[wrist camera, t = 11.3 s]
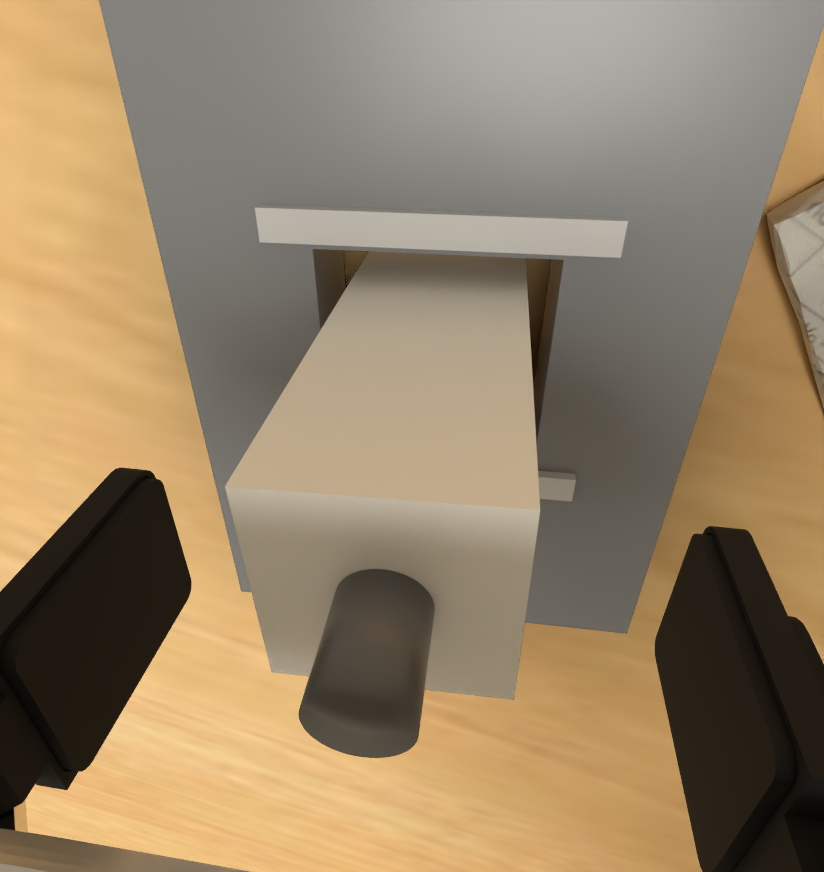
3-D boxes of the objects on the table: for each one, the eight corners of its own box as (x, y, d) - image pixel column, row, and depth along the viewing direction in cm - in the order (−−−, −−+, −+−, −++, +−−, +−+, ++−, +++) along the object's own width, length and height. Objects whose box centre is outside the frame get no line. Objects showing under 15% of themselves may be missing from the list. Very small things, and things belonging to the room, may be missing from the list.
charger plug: (525, 250, 17) (547, 636, 6) (513, 385, 19) (514, 825, 9) (371, 246, 17) (157, 597, 7) (379, 378, 20) (229, 784, 9)
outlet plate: (809, -129, 12) (895, -172, 9) (614, 569, 23) (628, 640, 21) (145, -112, 13) (54, -145, 11) (267, 535, 25) (238, 597, 22)
